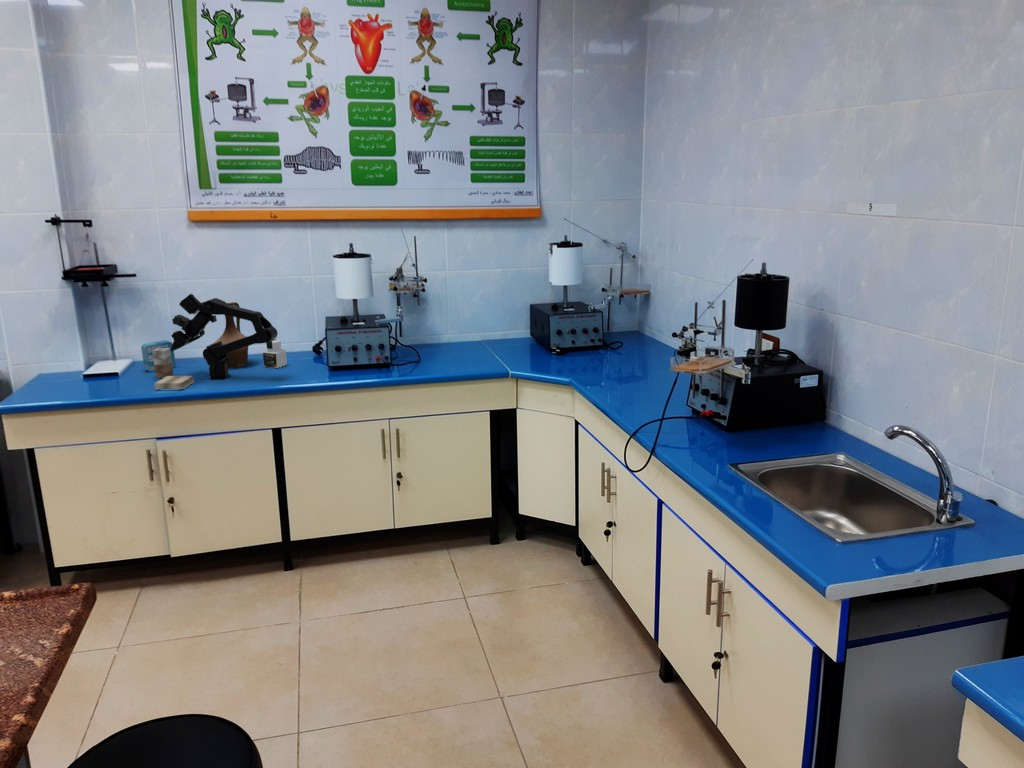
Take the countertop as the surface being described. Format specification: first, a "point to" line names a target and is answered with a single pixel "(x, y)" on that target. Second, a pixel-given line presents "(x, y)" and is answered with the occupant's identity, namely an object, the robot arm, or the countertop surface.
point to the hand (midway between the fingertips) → (176, 348)
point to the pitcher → (233, 334)
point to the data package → (148, 353)
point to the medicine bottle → (274, 355)
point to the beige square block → (174, 382)
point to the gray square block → (162, 362)
